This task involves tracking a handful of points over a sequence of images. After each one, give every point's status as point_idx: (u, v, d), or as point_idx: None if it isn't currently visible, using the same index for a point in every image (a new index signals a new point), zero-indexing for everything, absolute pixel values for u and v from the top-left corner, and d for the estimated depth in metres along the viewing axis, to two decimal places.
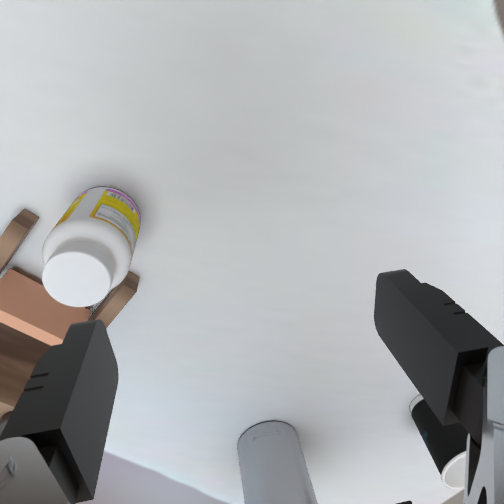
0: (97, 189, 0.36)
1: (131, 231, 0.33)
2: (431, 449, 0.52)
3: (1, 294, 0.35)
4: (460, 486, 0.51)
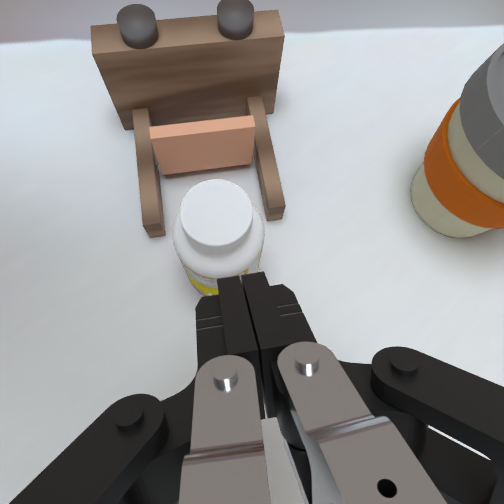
0: None
1: (201, 281, 0.29)
2: None
3: (244, 140, 0.35)
4: None
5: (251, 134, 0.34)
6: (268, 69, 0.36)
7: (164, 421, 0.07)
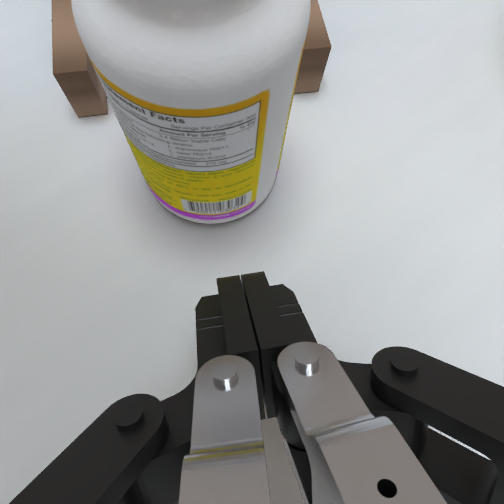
0: (266, 191, 0.18)
1: (157, 148, 0.13)
2: None
3: None
4: None
5: None
6: None
7: (164, 421, 0.07)
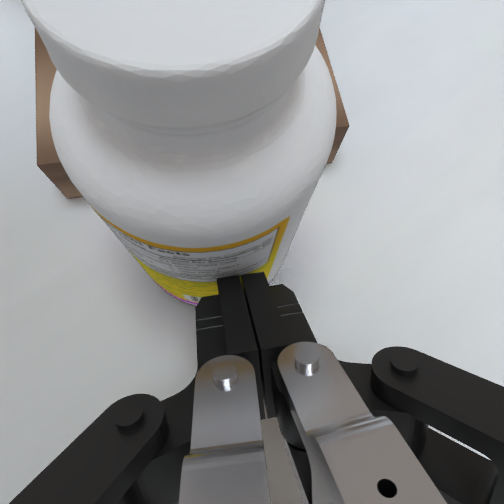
0: (276, 271, 0.16)
1: (156, 265, 0.11)
2: None
3: None
4: None
5: None
6: None
7: (164, 421, 0.07)
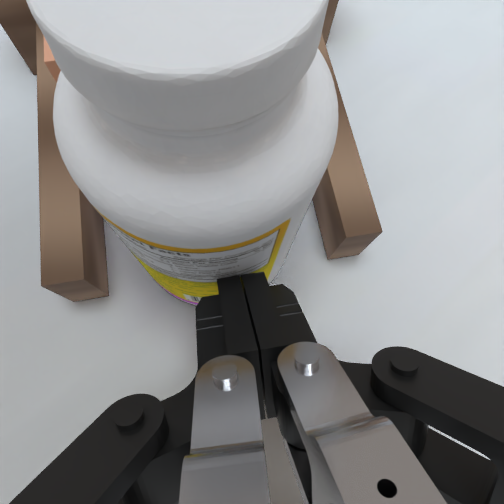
0: (276, 273, 0.16)
1: (157, 265, 0.11)
2: None
3: None
4: None
5: None
6: None
7: (164, 421, 0.07)
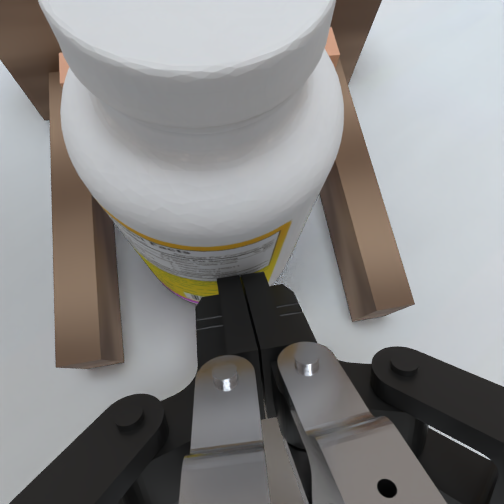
0: (278, 275, 0.16)
1: (157, 261, 0.11)
2: None
3: None
4: None
5: None
6: None
7: (164, 421, 0.07)
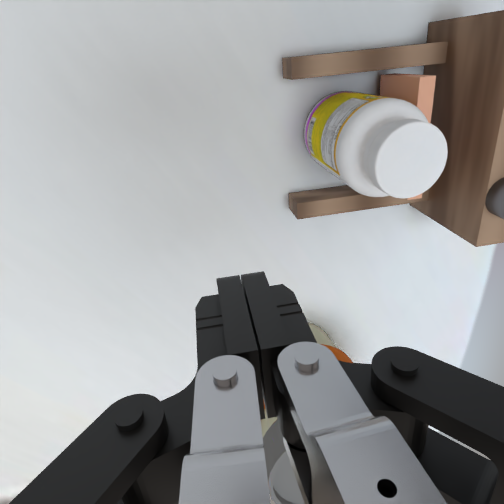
0: (316, 161, 0.34)
1: (332, 119, 0.28)
2: None
3: None
4: None
5: None
6: (450, 217, 0.33)
7: (164, 421, 0.07)
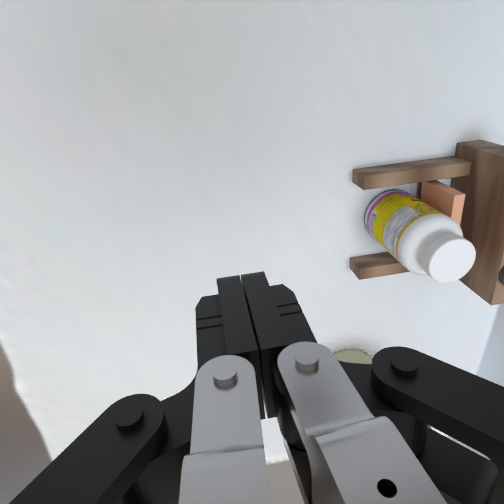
0: (373, 237, 0.47)
1: (393, 221, 0.40)
2: None
3: None
4: None
5: None
6: (471, 280, 0.45)
7: (164, 421, 0.07)
